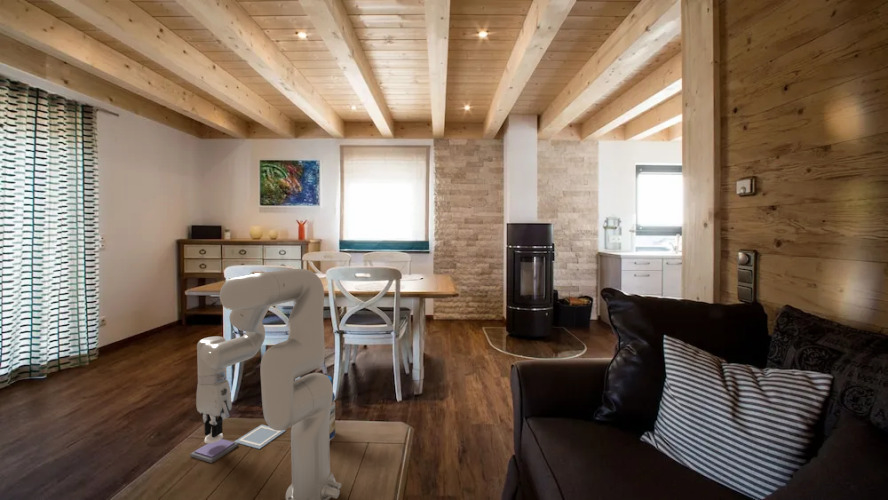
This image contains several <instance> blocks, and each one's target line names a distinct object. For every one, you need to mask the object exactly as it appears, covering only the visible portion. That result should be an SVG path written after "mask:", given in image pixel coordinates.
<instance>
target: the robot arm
mask: <svg viewBox="0 0 888 500" xmlns="http://www.w3.org/2000/svg"><path fill="white" fill-rule="evenodd" d="M219 300H220V304H221V305H222V307H223V308H225V309H227V310H229V311H231V312H230V314H229V321H230V324H231V325H232V326H233V327H235V329H237V330H240V331H243V332H245V334H244V335H242V336H239V337H236V338H232V339H228V340H226V339H225V338H224V336H219V335H218V336H217V335H216V336H208V337H204V338H202V339H200V340H199V341H198V342H197V344H196V351H197V352H196V353H197V355H196V356H197V358H196V359H197V360H196V361H197V363H196V364H197V385H196V386H197V387H196V399H195V400H196V401H195V404H196V406H195V407H196V410H197V412H198V413H199V414H200V415H201V417H202V421H203V424H204V435H205V436H208V435H209V434H210V433H211V427H212V437H213V438H214V437H216V436H217V435H219V434H221V433H222V434H223V430H224V429H223V422H224V420H226V419H228V418H230V413H229V411H231V410H232V407H233V406H232V403H233V402H232V394H231V387H230V383H229V380H228V375H227V368H229V367H230V366H234V365H236V364H239V363H242V362H245V361H248V360H250V359H252V358H254V357H255V356H256V355H257V353H258V352H259V351H260V349H261V347H262V346H263V344H264V342H265V339H266V328H265V326H264V323H263V320H264V318H265V316H266V314H267V313H268V311H269V309H270V308H271V306H274V305H275V306H276V305H280V304H285V303H289V302H295V304H294V305H293V307H292V309H291V311H290V314H289V316H288V317H289V318H288V325H287V326H288V338H287V340H285V341H281V342H278V343H275V344H274V345H272V346H270V347H269V348H267V350H265V352H264V353H263V355H262V357H261V361H260V367H259V368H260V387H261V388H260V389H261V390H260V391H261V402H262V403H261V405H262V412H263V413H262V414H263V418H264V421H265V422H266V424H267V426H269V427H270V428H272V429H273V430H277V431H281V430H287V429H289V428H291V429H290V453H291V457H290V458H291V459H290V460H291V462H290V463H291V484H290V485H289V486H288V488H287V490H286V492H285V500H330V499H331V498H333V499H338V498H339V496H340V494H341V493H340V492H341V491H340V489H341V487H342V483H340V482H337V481H336V478H335V476H334V473H332V472H331V454H330V453H331V451H330V447H331V446H330V441H331V440H330V438H329V419H330V408H331V403H332V397H333V393H334V389H333V388H334V387H333V386H332V383H331V381H330V379H329V378H328V377H327V376H328V375H326V374H324V373H322V372H312V371H315V370H316V369H318V368H320V367H321V366H322V365H323V363H324V362H325V355H326V347H325V328H324V327H325V326H324V325H325V324H324V305H325V289H324V285H323V281H322V280H321V278H320V277H319V275H317V274H316V273H315V272H313V271H311V270H310V269H305V268H290V269H289V268H288V269H282V270H274V271H267V272H266V271H264V272H258V273H252V274H249V275H243V276H236V277H231V278H229V279H227V280H226V281H225V282H224V283H223V284H222V285H221V288H220V291H219ZM310 372H312V373H310ZM209 415H213V425H212V424H210V423H209V422H210V421H211V418H210V416H209Z"/></svg>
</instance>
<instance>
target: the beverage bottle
mask: <svg viewBox="0 0 888 500" xmlns="http://www.w3.org/2000/svg"><path fill="white" fill-rule="evenodd" d="M326 376H327V377H328V378H329V379H330V381H331V383H332V387H333V386H334V385H333V377H332V376H330V375H326ZM335 399H336V396H335V393H334V392H333V397H332V403H331V408H330V419H329V438H330V441H331V440H333V439H334V438H335V436H336V402H335Z"/></svg>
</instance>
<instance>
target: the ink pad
mask: <svg viewBox="0 0 888 500" xmlns="http://www.w3.org/2000/svg"><path fill="white" fill-rule="evenodd" d="M237 447H239V444H238V443H236V442H234V441H233V440H229V439H226V438H225V439H224V438H222V439H221V440H219V441H217V442H214V443H205V444H204V445H203V446H201V447H199V448H197V449H196V450H194V451H192V452H190V455H189V457H191V458H194V459H197V460H199V461H203V462H206V463H210V464H212V463H214V462H215V461H217V460H219V459H221V458H222V457H224V456H225V455H226V454H228V453H229V452H231V451H233V450H234V449H235V448H237Z"/></svg>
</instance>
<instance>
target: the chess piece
mask: <svg viewBox="0 0 888 500" xmlns="http://www.w3.org/2000/svg"><path fill="white" fill-rule="evenodd" d="M209 416H210V418H211V421H210V422H209V423H210V424H212V425H213V415H209ZM221 439H224V435H223V432H222V433H221V434H219V435H217V436H216V437H214V438H213V437H212V427H211V433H210V434H209V435H205V438H204V443H205V444H208V443H214V442H217V441H219V440H221Z"/></svg>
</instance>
